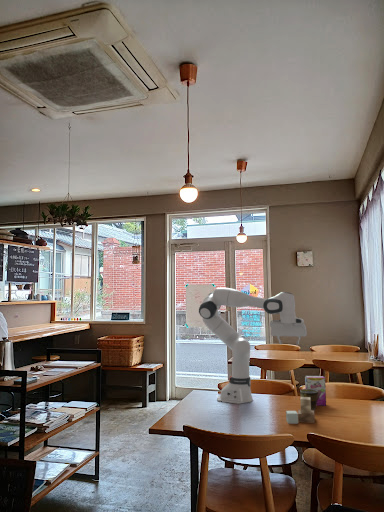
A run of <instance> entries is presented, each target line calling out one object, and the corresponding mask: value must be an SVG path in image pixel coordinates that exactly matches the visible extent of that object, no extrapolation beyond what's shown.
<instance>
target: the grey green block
mask: <svg viewBox="0 0 384 512" xmlns="http://www.w3.org/2000/svg"><path fill="white" fill-rule="evenodd" d="M285 418H286V419H285V421H286V422H287V424H296V425H297V424H299V422H298V411H296V410H285Z"/></svg>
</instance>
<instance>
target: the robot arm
mask: <svg viewBox="0 0 384 512" xmlns="http://www.w3.org/2000/svg"><path fill="white" fill-rule="evenodd" d="M222 306H225V307H229V308H245V307H253V308H257V309H262V310H264V311H265V313H267V314H268V315H279V318H280V319H272V320H271V321H270V322H269V326H270V336H272V337H276V339H277V340H278V342H279V343H278V344H279V345H283V340H281V337H297V338H298V340H295V342H296V345H298V346H299V345H300V340H301V338H302V337H307V335H308V332H307V326H306V324H305V319H303V318H301V317H297V314H296V298H295V295H294V294H293V293H292V292H287V291H281V292H280V293H278V294H276V295H275V296H272V297H269V298H268V297H267V298H263V297H257V296H253V295H251V294H248V293H247V292H243V291H240V290H238V289H235V288H229V287H216V288H215V289H214V290H213V292H210V293H209V294H207V295H206V297H204V299H203V301H202V303H200V305H199V307H198V314H199V316H200V317H201V318H202V322H203V323H204V324H205V326H206V328H208V329H209V331H210V332H212V333H213V334H214V336H216V337H217V338H218V340H220V341H221V342H222V343H224V345H226V346H227V348H229V349H230V350H231V351H232V361H231V376H230V377H229V378H228V383H227V384H226V385H225V386H224V387H222V389H221V390H220V395H218V396H217V398H216V401H217V400H218V401H217V402H221V401H222V403H231V404H238V405H240V404H243V403H244V404H245V403H251V402H253V401H254V399H253V395H252V389H251V386H252V385H251V384H252V383H251V376H250V375H251V374H250V362H251V361H250V360H251V359H250V358H251V343H250V342H249V340H247V339H246V338H245V337H243V336H242V335H241V334H239V333H238V331H237V330H236V329H235V328H233V326H231V324H229V323H228V321H226V320H225V319H224V317H222V316H221V315H220V314H219V310H220V309H221V307H222Z"/></svg>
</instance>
